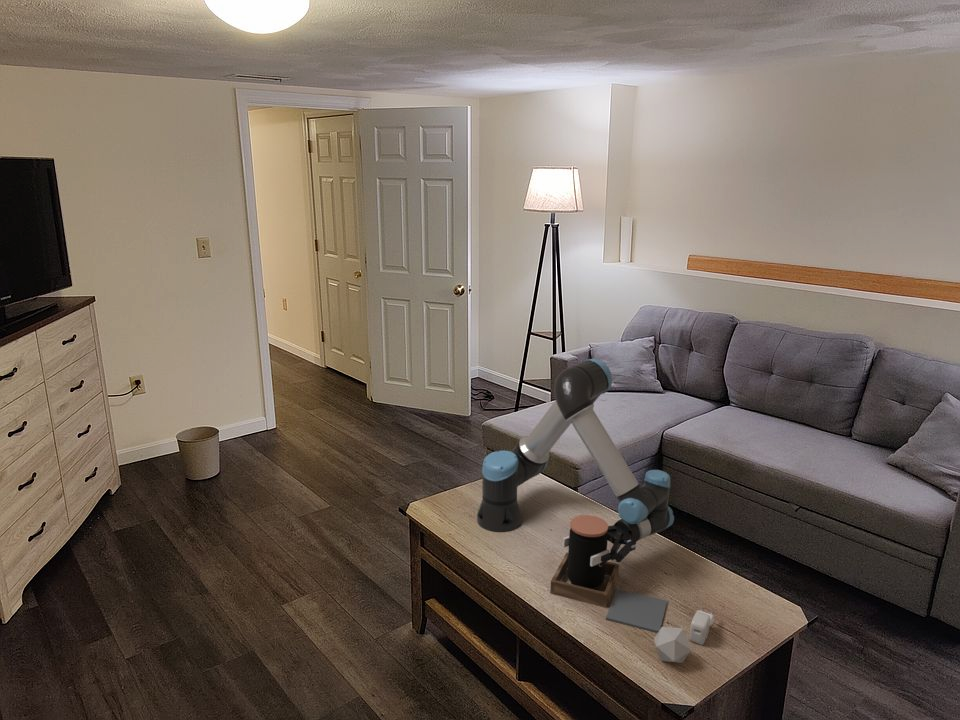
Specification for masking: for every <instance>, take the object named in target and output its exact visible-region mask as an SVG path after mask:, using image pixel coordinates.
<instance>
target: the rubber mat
mask: <svg viewBox="0 0 960 720" xmlns="http://www.w3.org/2000/svg"><path fill="white" fill-rule="evenodd" d="M667 604H668V600H667V599H662V598H658V597H654V596H649V595H645V594H641V593H636V592H634V591H633V592H632V591H629V590H625V589H621V588H616V590H615V593H614V595H613V598H612V601H611V604H610V606H609V608H608V612H607V615H606V616H605V620H606V621H610V622H614V623H619V624H621V625H624V626H628V627H634V628H638V629H640V630H641V629H642V630H644V631H648V632H649V631H650V632H651V633H656V634H658V632H659V631H660V629H661V627H662V624H663V619H664V616H665V613H666V610H667V609H666V608H667Z"/></svg>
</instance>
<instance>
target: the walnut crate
mask: <svg viewBox="0 0 960 720" xmlns="http://www.w3.org/2000/svg"><path fill="white" fill-rule="evenodd" d="M567 568H568V552H565V555H564V557H563V558H562V560H561V562H560V564H559V566H558V567H557V569H556V571H555V573H554V575H553V577H552V578H551V579H550V580H551V581H550V592H549V593H550V594H551V595H554V596H558V597H562V598H566V599H567V598H568V599H570V600H574V601H578V602H583V603H587V604H590V605H594V606H597V607H602V608H607V607H608V604H609V601H610V599H611V597H612V594H613V591H614V589H615V586H616V584H617V581H618V579H619V574H620V564H619V563H617V562H615V563H614V562H610V561H607V562H606V567H605V576H607V577H609V579H608V583H607V585H606V588H605V590H604V591H601V590H597V589H589V588H585V587H581V586H577V585H573V584H572V583H568V582H565V581H562V579H563V577H564V575H565V574H566V573H567Z"/></svg>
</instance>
